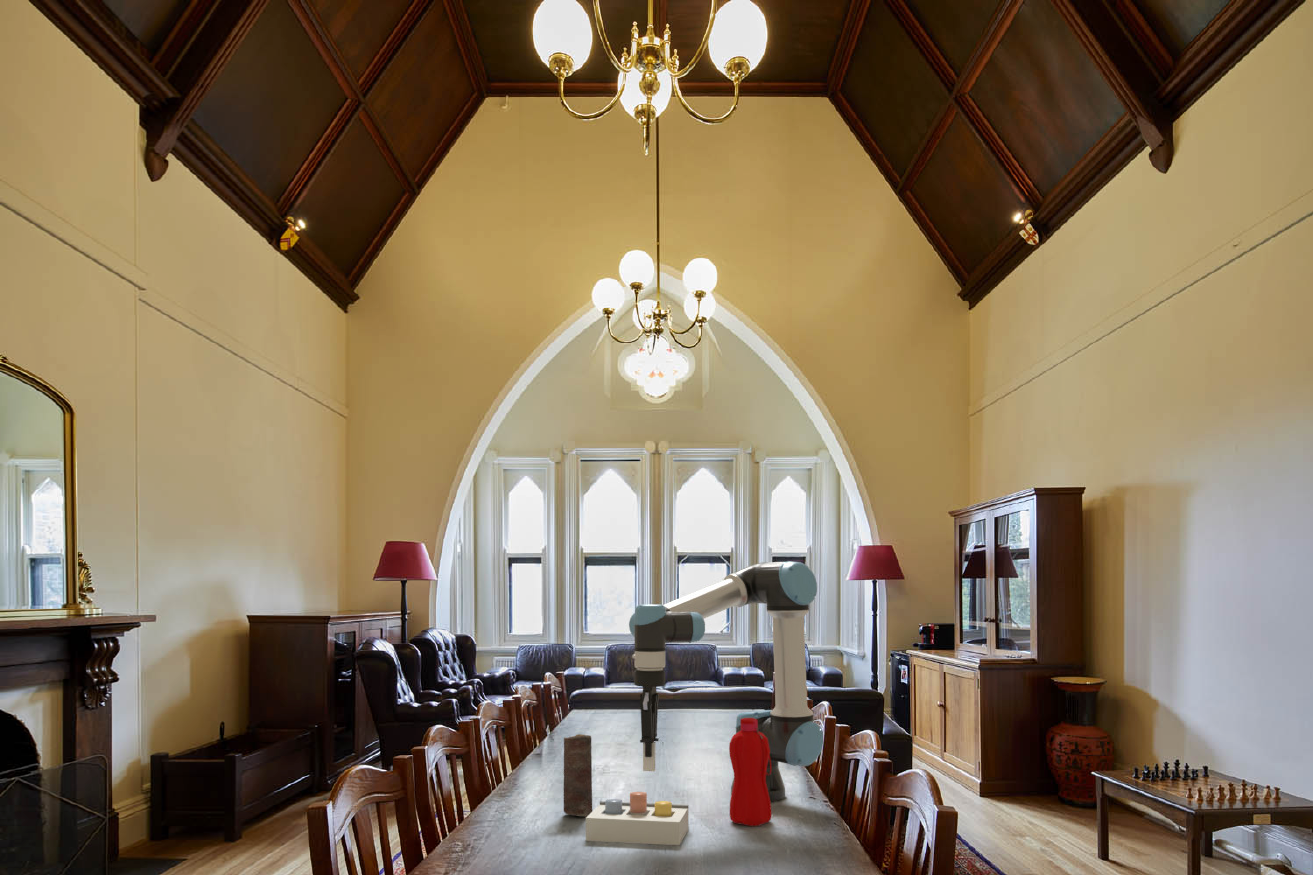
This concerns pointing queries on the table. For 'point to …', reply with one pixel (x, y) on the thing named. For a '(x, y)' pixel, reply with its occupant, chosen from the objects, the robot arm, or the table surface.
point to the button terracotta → (638, 802)
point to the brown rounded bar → (578, 775)
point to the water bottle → (750, 775)
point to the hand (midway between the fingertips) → (649, 770)
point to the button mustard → (663, 808)
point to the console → (637, 825)
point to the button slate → (613, 806)
